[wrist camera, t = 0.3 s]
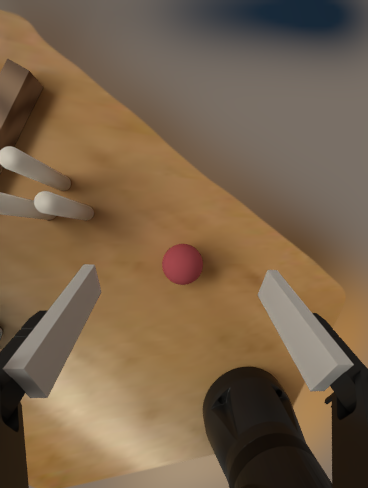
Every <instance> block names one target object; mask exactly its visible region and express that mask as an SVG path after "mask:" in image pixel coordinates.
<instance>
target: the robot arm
mask: <svg viewBox="0 0 368 488" xmlns="http://www.w3.org/2000/svg"><path fill="white" fill-rule="evenodd" d="M100 294H101V289H100V284H99V280H98V276H97V272H96V268H95V265H85V264H84V265H83V266H82V267H81V269H80V270H79V271H78V273H77V274H76V275H75V276H74V278H73V279H72V280H71V282H70V283H69V284H68V285H67V287H66V288H65V289H64V291H63V292H62V293H61V294H60V296H59V297H58V298H57V300H56V301H55V302H54V303H53V305H52V306H51V307H50V309H49V310H48V311H39V312H37V313H36V314H35V315H33V316H32V317H31V318H29V319H28V321H27V322H26V323H25V324H24V325H23V327H22V328H21V330H19V331H18V332H17V334H16V335H15V337H14V338H12V339H11V341H10V342H9V343H8V344H7V345H6V347H5V348H4V349H3V350H2V351H1V352H0V488H29V486H28V474H27V462H26V451H25V439H24V427H23V415H22V405H21V402H20V401H21V399H22V397H23V396H24V394H25V393H26V394H27V395H28V396H29V397H30V398H47V397H48V396H49V394H50V392H51V390H52V388H53V386H54V384H55V382H56V380H57V378H58V376H59V374H60V372H61V370H62V368H63V366H64V364H65V362H66V360H67V358H68V356H69V354H70V352H71V350H72V349H73V347H74V345H75V343H76V341H77V339H78V337H79V335H80V333H81V331H82V329H83V327H84V325H85V323H86V321H87V319H88V317H89V315H90V313H91V311H92V309H93V307H94V305H95V304H96V302H97V300H98V298H99V296H100ZM258 297H259V298H260V300H261V302H262V304H263V306H264V308H265V309H266V311H267V313H268V315H269V317H270V319H271V320H272V322H273V324H274V326H275V328H276V329H277V331H278V333H279V335H280V337H281V339H282V340H283V342H284V344H285V346H286V348H287V350H288V351H289V353H290V355H291V357H292V359H293V360H294V362H295V364H296V366H297V368H298V370H299V371H300V373H301V375H302V377H303V379H304V380H305V382H306V384H307V386H308V388H309V390H310V391H325V390H326V389H327V388H328V387H329V386H331V388H332V389H333V391H334V393H332V394H331V395H330V396H329V397H327V398H326V399H325V403H326V404H328V403H330V402H331V401H332V406H331V407H332V483H331V481H330V479H329V478H328V477H327V475H326V473H325V472H324V470H323V469H322V467H321V466H320V464H319V463H318V461H317V460H316V458H315V457H314V455H313V454H312V452H311V450H310V449H309V447H308V446H307V444H306V442H305V439H304V436H303V434H302V431H301V428H300V426H299V423H298V420H297V418H296V415H295V412H294V410H293V407H292V404H291V402H290V400H289V398H288V396H287V394H286V392H285V391H284V390H283V388H282V387H281V385H280V384H279V383H278V381H277V380H276V379H275V378H274V377H273V376H272V375H271V374H269V373H268V372H266V371H264V370H261V369H258V368H253V367H242V368H237V369H234V370H231V371H229V372H227V373H225V374H224V375H222V376H221V377H219V378H218V379H217V380H216V381H215V382H214V383H213V384H212V386H211V387H210V389H209V390H208V392H207V394H206V397H205V400H204V404H203V419H204V424H205V430H206V434H207V437H208V440H209V442H210V444H211V447H212V449H213V451H214V453H215V455H216V457H217V459H218V461H219V463H220V466H221V468H222V470H223V472H224V474H225V476H226V478H227V481H228V483H229V487H230V488H368V369H367V368H366V367H365V365H364V364H363V363H362V362H361V361H360V360H359V359H358V357H357V356H356V355H355V354H354V353H353V352H352V351H351V349H350V348H349V347H348V346H347V345H346V344H345V342H344V341H343V340H342V339H341V338H340V337H339V336H338V334H337V333H336V332H335V331H334V330H333V328H332V327H331V326H330V325H329V324H328V323H327V321H326V320H324V319H323V318H322V317H321V316H319V315H318V314H317V313H311V311H310V310H309V309H308V308H307V306H306V305H305V304H304V303H303V301H302V300H301V299H300V298H299V297H298V295H297V294H296V293H295V292H294V290H293V289H292V288H291V287H290V286H289V284H288V283H287V282H286V281H285V279H284V278H283V277H282V276H281V274H280V273H279V272H278V271H277V270H267V273H266V275H265V278H264V280H263V283H262V285H261V288H260V290H259V293H258Z"/></svg>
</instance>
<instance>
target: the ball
mask: <svg viewBox="0 0 368 488" xmlns="http://www.w3.org/2000/svg"><path fill="white" fill-rule="evenodd" d="M162 266H163V271H164V274H165V275H166V277H167V278H168V279H169V280H170V281H172V282H173V283H176V284H180V285H185V284H189V283H192V282H194V281H195V280H196V279H197V278H198V277H199V276H200V274H201V272H202V268H203V260H202V257H201V255H200V253H199V252H198V251H197V249H195V248H194V247H192V246H190V245H187V244H178V245H175V246H173V247H171V248H170V249H169V250H168V251H167V252H166V253H165V255H164V257H163V262H162Z"/></svg>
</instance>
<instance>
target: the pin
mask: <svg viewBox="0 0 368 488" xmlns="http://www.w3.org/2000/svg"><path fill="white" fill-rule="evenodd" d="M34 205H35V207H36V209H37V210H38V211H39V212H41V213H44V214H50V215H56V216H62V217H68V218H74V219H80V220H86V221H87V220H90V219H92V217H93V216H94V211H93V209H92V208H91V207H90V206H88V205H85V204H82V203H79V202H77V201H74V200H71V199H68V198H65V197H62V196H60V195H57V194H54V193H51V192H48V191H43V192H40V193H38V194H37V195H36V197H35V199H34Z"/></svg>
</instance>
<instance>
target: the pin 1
mask: <svg viewBox="0 0 368 488" xmlns="http://www.w3.org/2000/svg"><path fill="white" fill-rule="evenodd" d="M0 164H1V165H2V166H3V167H4V168H6V169H8V170H11V171H13V172H16V173H18V174H21V175H23V176H26V177H28V178H31V179H33V180H36V181H38V182H41V183H43V184H46V185H48V186H51V187H53V188H56V189H58V190H61V191H66V190H68V189H69V188H70V186H71V181H70V179H69V178H68V177H67V176H65V175H63V174H62V173H60V172H58V171H56V170H54V169H53V168H51V167H49V166H47V165H45V164H44V163H42V162H40V161H38V160H36V159H35V158H33V157H31V156H29V155H28V154H26V153H24V152H22V151H20V150H19V149H17V148H15V147H11V146H7V147H4V148H3V149H1V150H0Z"/></svg>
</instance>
